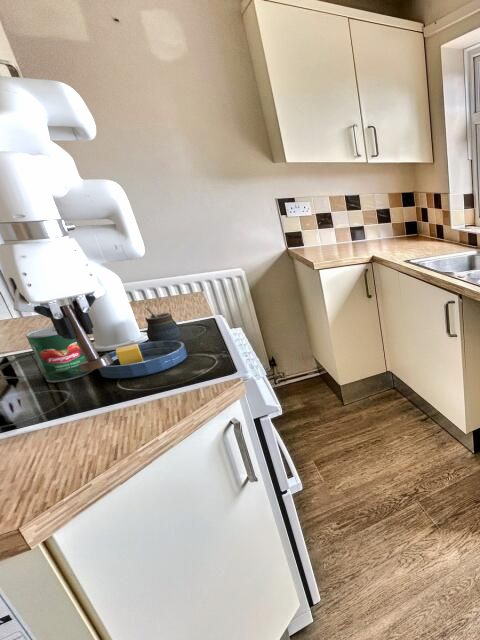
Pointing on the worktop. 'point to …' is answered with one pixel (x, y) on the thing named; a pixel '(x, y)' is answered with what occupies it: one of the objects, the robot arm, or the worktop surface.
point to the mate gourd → (162, 327)
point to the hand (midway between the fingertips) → (77, 335)
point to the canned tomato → (56, 355)
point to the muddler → (84, 342)
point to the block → (129, 354)
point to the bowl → (147, 360)
